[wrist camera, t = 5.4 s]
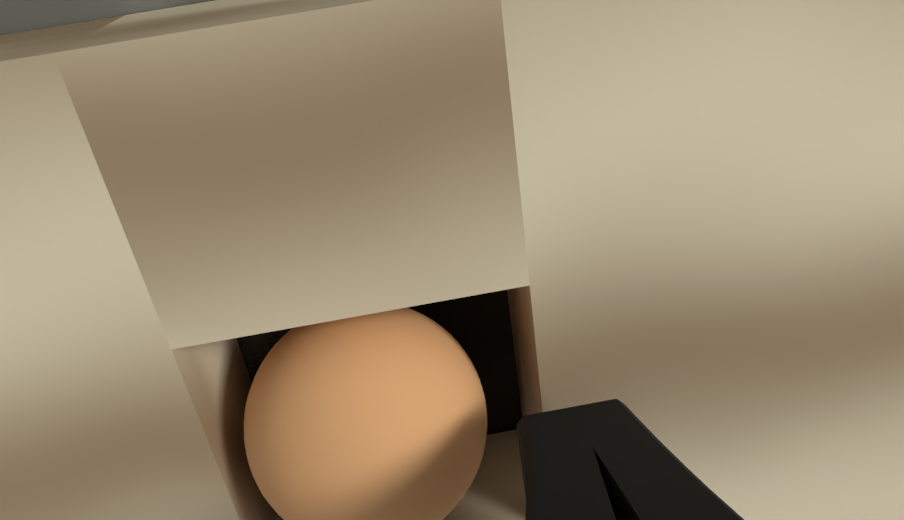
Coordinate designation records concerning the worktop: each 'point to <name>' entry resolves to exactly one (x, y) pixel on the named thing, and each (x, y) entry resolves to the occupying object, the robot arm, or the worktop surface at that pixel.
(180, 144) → the board
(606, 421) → the robot arm
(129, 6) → the worktop surface
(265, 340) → the worktop surface
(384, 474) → the ball
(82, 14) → the worktop surface
